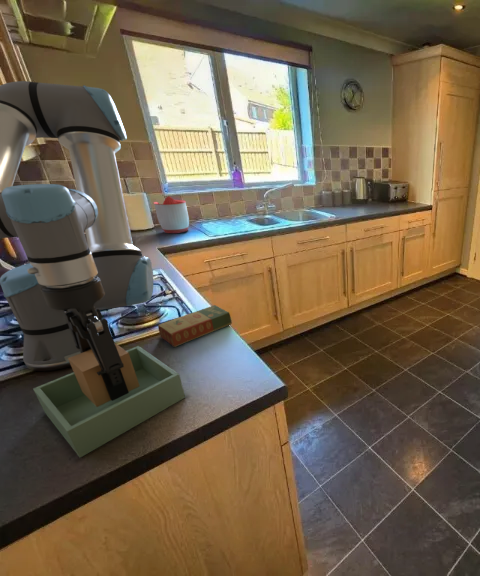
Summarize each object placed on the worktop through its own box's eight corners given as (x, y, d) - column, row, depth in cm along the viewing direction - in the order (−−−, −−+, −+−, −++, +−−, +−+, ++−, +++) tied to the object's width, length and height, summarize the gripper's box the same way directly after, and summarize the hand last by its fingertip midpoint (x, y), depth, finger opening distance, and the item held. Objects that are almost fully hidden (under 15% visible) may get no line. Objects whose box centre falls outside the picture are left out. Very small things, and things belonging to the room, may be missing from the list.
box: (82, 392, 63) (67, 358, 60) (124, 373, 69) (112, 341, 66) (97, 407, 60) (82, 371, 57) (139, 386, 65) (128, 352, 62)
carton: (160, 337, 89) (156, 323, 87) (217, 315, 101) (215, 303, 99) (174, 348, 85) (170, 334, 83) (232, 324, 97) (230, 311, 95)
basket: (45, 413, 64) (32, 388, 61) (145, 367, 77) (138, 345, 75) (79, 458, 55) (67, 431, 53) (185, 397, 69) (179, 374, 66)
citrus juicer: (175, 227, 200) (168, 193, 192) (198, 230, 195) (191, 195, 187) (151, 232, 186) (142, 196, 178) (175, 236, 181) (166, 199, 173)
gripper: (21, 274, 57) (68, 379, 66) (62, 303, 48) (110, 422, 57) (76, 263, 63) (112, 361, 72) (122, 287, 53) (157, 397, 62)
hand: (111, 388), depth 64 cm, fingers closed on box, 7 cm apart
